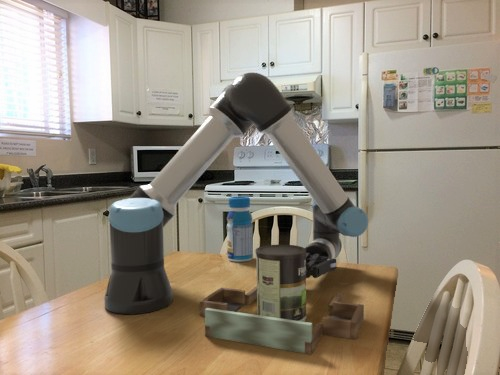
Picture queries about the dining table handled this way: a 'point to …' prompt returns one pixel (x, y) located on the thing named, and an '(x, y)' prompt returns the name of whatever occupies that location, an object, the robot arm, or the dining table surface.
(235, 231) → the beverage bottle
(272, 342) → the wooden tray
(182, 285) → the dining table surface
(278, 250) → the coffee can
